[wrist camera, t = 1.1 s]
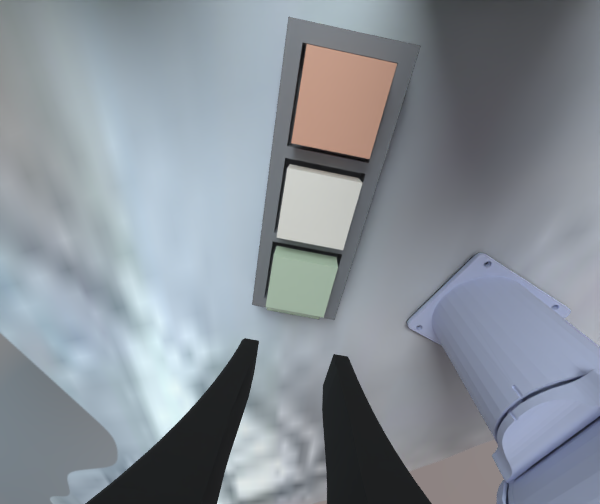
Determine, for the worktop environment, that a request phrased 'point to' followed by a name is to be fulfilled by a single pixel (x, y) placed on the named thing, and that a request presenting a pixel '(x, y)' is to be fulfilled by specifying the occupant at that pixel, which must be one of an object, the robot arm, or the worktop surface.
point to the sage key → (301, 281)
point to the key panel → (323, 159)
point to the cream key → (317, 206)
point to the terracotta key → (341, 101)
